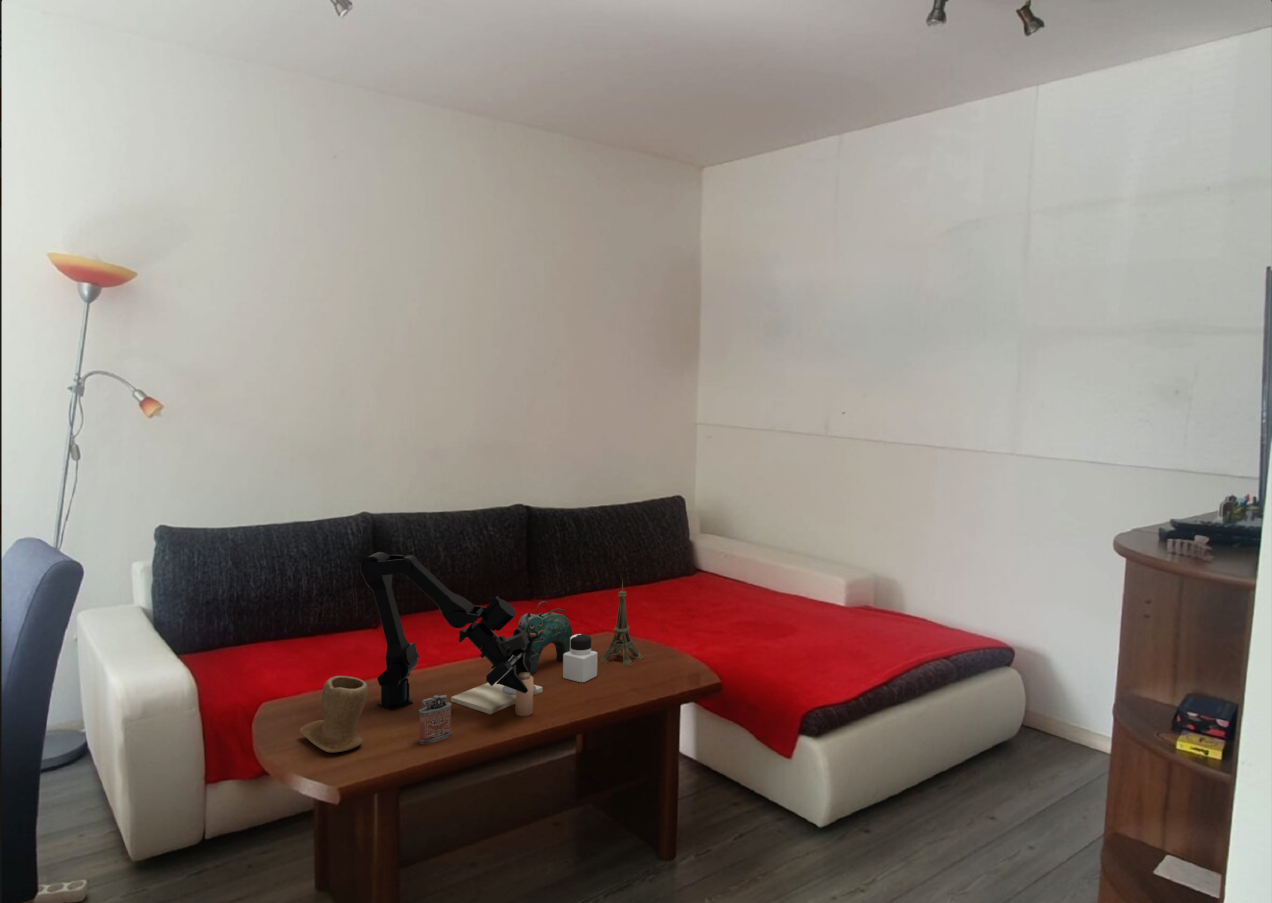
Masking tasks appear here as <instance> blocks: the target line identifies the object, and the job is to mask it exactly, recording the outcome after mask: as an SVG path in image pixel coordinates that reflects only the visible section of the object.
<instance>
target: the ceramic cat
mask: <svg viewBox="0 0 1272 903" xmlns="http://www.w3.org/2000/svg"><path fill="white" fill-rule="evenodd" d="M542 603H544V604H545V605H546V606H547V605H548V603H547V601H546V600H545V601H544V600H542V601H540V602H539V603H537V606H536V614H534V613H533V614H532V613H530V612H528V613H525V614H523V615H522V616H521V617H520V618H519V619H518V625H517V628H519V627H520V628H521V629H522V630H523V631H524V630H525V632H527V633H528V636H527V638H528V640H529V643H528V644H527V646H526V647H527V648H526V649H525V651H524V652H522V653H521V654H520V655H523V654H524V653H525V664H526V666H527V668H528V670H529V672H530V674H531V675H532V674H536V673H537V670H538V666H539V665H538V664H539V659H540V657H541V654H542V652H543V650H544V649H545V648H546V647H547V646H549V645H551V644H553V645H554V647H555V652H556V660H557V661H558V660H559V662H561V661H563V654H564V653H567V652H569V651H570V638H571V636H573V634H574V633H573V629H572V625H571V623H570V620H569V618H568V617H567V616H568V615H567V612H566V611H565V609H561V608H554V609H552V610H550V611H549V612H547V613H546V612H545V613H544V612H541V613H539V606H540V605H541V604H542ZM554 611H561V612H563V613H564V614H562V613H561V614H560V613H556V612H554Z"/></svg>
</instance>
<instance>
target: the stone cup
mask: <svg viewBox="0 0 1272 903" xmlns="http://www.w3.org/2000/svg"><path fill="white" fill-rule="evenodd" d="M368 687H369V686H368V685H367V683H366V682H365V681H364V680H362V679H360V678H357V677H353V676H348V675H335V676H332V677H330V678H328V679H327V680H326V681H325V683H324V685H323V687H322V688H323V689H322V697H321V709H322V715H323V719H321V720H314V721H311V722H308V723H307V724H304V725H303V726H302V727H301V728H300V729H299V732H300V733H301V735H303V736H304V738H306V739H307V740H308V741H309V742H310V743H312V744H313V745H314V746H316V747H317V748H318V749H320V750H322V751H323V752H327V753H339V752H340V753H341V752H346V751H350V750H353V749H356V748H357V747H358V746H361V744H363V741H364V740H363V738H362V736H361V735H360V734H359V732H358V731H357V727H358V722H359V720H360V718H361V714H362V712H363V710H364V708H365V706H366V703H367V699H368V692H369V691H368V690H369V688H368Z"/></svg>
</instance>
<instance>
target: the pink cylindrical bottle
mask: <svg viewBox="0 0 1272 903" xmlns="http://www.w3.org/2000/svg"><path fill="white" fill-rule="evenodd" d="M519 678H520V679H521V680H522V682H523V683H524V684H525V686H526V687H527V689H528V691H527V692H526V693H523V692H520V691H517V690H516V703H515V706H514V707H515V708H514V709H515V713H516V714H517V715H516V714H515V715H516V716H518V715H519V717H528V716H531V715H533V714H532V713H534V695H533V684H534V683H533V680H534V676H533V675H531V676H530V673H528V672H522V673H519ZM530 714H531V715H530Z"/></svg>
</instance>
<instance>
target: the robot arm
mask: <svg viewBox="0 0 1272 903" xmlns="http://www.w3.org/2000/svg"><path fill="white" fill-rule="evenodd" d="M359 571H360V573H361V576H362V577H363V580H364V582H365V584H366V585H367V586H368V587H369V588H370V590H371V591H372V593H373V596H374V601H375V605H376V607H377V611H378V616H379V618H380V619H379V620H380V623H381V626H382V630H383V635H384V639H385V642H386V650H385V651H386V652H385V667H386V669H385V670H384V671H383V672H382V673H381V674H380V675H379V676H377V678H376V679H377V682H378V684H379V685H378V686H380V701H377V702H376V705H377V706H380V707H381V708H382V707H383V708H385V709H388V710H391V711H395V710H398V709H400V708H403V707H405V706H408V705H412V704H413V700H411V699H410V683H409V678H408V677H409V676H410V675H411V672H412V671H414V670H415V668H416V667H417V665H418V663H419V662H418V661H419V660H418V658H420V655H419V653H418V652H417V645H416V642H412V643H410V642H409V641H408V640H407V638H406V635H405V632H404V629H403V625H402V621H401V617H400V613H399V610H398V606H397V603H396V599H395V594H394V589H393V587H392V586H393V585H392V583H393V577H394V576H393V575H397V574H404V575H405V576H406V577H407V578H408V579H409V580H410V581H411V582H412V583H414V584H415V586H417V587H418V589H419V590H421V591H422V592H423V593H424V594H425V595H426V596H427V597H428V598H430V600H432V601H433V602H434V604H436V606H437V607H438V608H439V611H440V613H441V615H442V617H443V618H444V619H445V621H446V623H448V625H450V626H451V627H452V628H453V629H460V630H459V631H458V642H459V643H462V642H463V641H465V639H466V638H467V639H468V640H469V641H470V642H471V644H472V645H473V646H474V647H475V648H476V649H477V650H478V651H479V652H480V654H479V657H481V659H484V658H485V659H487V661H488V662H489V663H490V664H491V665H492V666H491V667H490V669H491V670H490V671H489V672H488V673H487V674H486V678H485V679H486V680H485V681H486V682H487V683H489V684H490V685H491V686H493V685H494V684H495V683H496V682H497V681H498V682H497V683H496V684H500V685H504V686H507V687H510V688H512V689H515V690H517V691H520V692H523V693H526V692H527V691H528V689H527V687H526V686H525V684H524V683H523V682H522V680H521V679H520V678H519V673H522V672H528V673H530V672H529V670H528V668H527V666H526V664H525V653H524V654H523V655H522V654H521V653H522V652H524V651H525V649H526V648H527V647H526V646H527V644H528V643H529V640H528V638H527V636H528V633H527V632H525V630H524V631H523V630H522V629H521V628H520V627H519V628H518V627H517V628H515V629H513V631H512V635H510V636H509V637H507V638H506V637H504V635H499V636H498V635H497V634H496V632H497V631H498V632H499V631H501V630H502V629H503V628H504V627H505V626H506V625H507V624H509V623H510V622H511V621H512V620H513V619H514V618H515V617H516V616H517V612H516V610H515V608H514V607H513V605H512V604H511V603H510V602H508V601H506V600H504V599H501V598H500V597H499V596H498V595H497V596H496V597H495V598H494V599H492V600H491V602H490V603H489V604H488V605H487V606H486V607H485V606H480V605H475V604H474V603H472V602H471V601H469V600H468V599H466V598H465V597H463V596H462V595H460V594H457V593H454V592H453V591H451V590H450V589H449V588H448V587H447V586H446V585H445V584H444V583H443V582H441V581H440V579H438V578H437V577H436V576H435V575H434V574H433V573H431V571H429V570H428V569H427V568H426V567H425V566H424V565H423V564H422V563H421V562H420V561H419V560H418V558H417V557H416V556H414V555H400V554H387V553H386V552H383V551H378V552H376V553H373V554H371V555H369V556H367V557H364V558H363V560H362V561H361V563H360V564H359ZM480 618H481V620H480V621H479V622H478V623H477V621H478V620H479V619H480ZM467 625H468V626H467ZM465 626H467V627H466V628H464V627H465ZM461 628H462V629H461ZM495 631H496V632H495ZM530 676H532V674H530ZM534 683H535V680H534V679H533V684H534Z"/></svg>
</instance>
